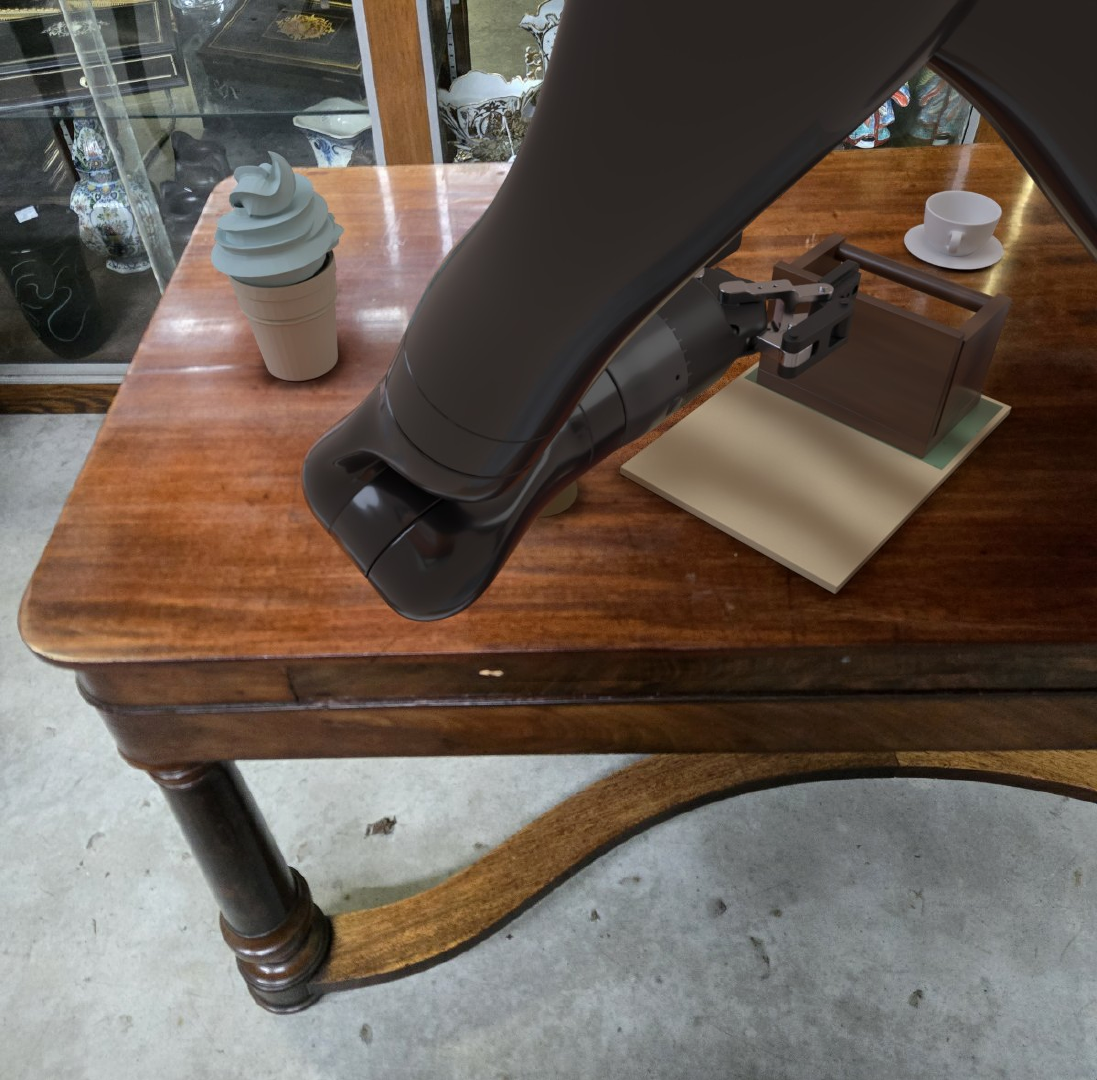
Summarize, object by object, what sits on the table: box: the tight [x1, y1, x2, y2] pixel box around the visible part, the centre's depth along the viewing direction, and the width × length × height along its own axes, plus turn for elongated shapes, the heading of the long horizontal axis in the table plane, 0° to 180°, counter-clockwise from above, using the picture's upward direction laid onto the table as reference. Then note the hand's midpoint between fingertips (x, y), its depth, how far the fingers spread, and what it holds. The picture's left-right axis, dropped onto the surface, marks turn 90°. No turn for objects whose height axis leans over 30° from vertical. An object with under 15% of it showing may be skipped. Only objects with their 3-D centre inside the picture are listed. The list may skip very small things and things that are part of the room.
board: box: [619, 360, 1012, 595], centre depth 86 cm, size 28×20×1 cm
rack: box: [756, 232, 1013, 459], centre depth 86 cm, size 10×16×12 cm, turn 48°
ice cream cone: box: [210, 150, 345, 382], centre depth 89 cm, size 10×11×20 cm
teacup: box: [903, 190, 1004, 270], centre depth 107 cm, size 10×10×5 cm
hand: (793, 252), depth 66 cm, fingers open, 8 cm apart
